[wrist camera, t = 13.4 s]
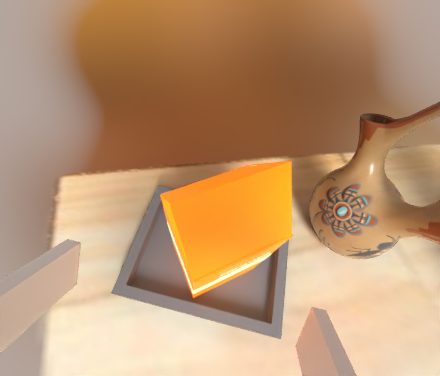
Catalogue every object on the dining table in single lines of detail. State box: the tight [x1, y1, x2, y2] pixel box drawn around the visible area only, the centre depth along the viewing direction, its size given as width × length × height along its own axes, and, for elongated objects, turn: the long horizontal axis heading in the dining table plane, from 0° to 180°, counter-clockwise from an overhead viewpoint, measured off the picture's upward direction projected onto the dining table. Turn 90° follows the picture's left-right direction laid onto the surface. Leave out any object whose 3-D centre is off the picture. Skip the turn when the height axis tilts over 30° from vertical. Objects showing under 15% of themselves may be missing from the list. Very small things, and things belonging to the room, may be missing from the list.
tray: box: [112, 185, 289, 339], centre depth 31 cm, size 20×15×3 cm
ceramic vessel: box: [309, 102, 440, 259], centre depth 26 cm, size 16×9×25 cm, turn 14°
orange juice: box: [160, 161, 293, 298], centre depth 23 cm, size 8×9×20 cm
